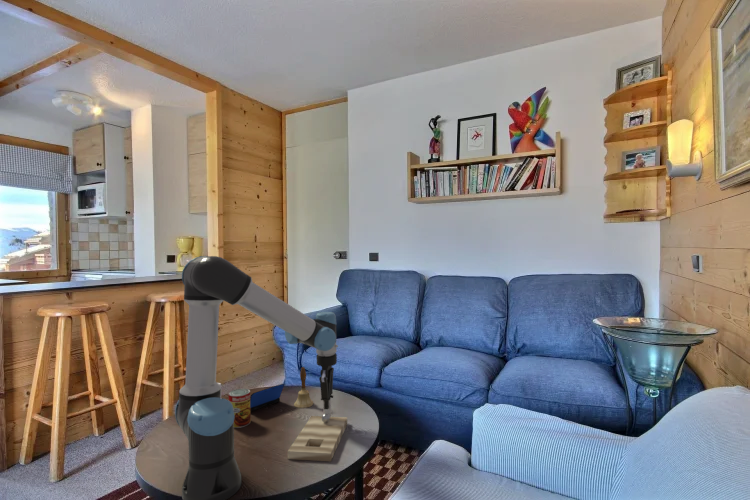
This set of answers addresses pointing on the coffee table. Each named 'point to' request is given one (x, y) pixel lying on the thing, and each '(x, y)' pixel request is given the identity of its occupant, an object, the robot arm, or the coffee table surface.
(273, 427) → the coffee table surface
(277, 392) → the handheld game console
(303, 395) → the hand bell
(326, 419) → the ball
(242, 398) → the canned food
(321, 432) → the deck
